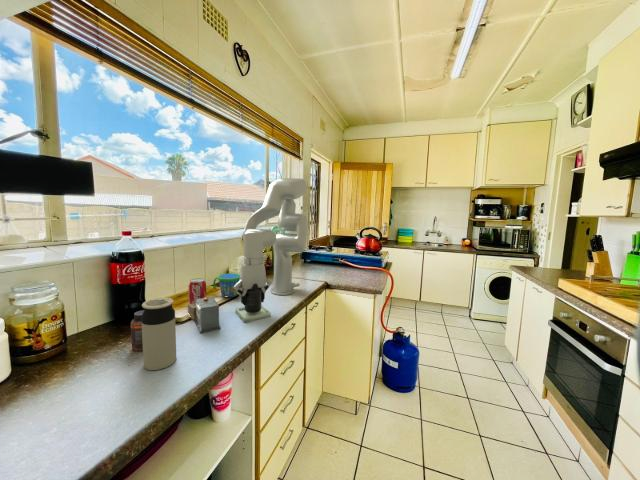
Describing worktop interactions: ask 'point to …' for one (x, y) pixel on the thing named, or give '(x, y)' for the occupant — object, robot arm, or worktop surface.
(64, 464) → the worktop surface
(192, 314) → the walnut block
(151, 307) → the travel mug
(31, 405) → the worktop surface
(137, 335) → the supplement bottle
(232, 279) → the snack cup
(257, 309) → the supplement bottle
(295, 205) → the robot arm
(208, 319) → the control box
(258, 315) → the tray
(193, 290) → the soda can
